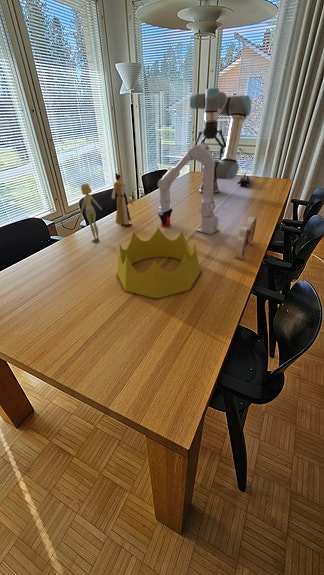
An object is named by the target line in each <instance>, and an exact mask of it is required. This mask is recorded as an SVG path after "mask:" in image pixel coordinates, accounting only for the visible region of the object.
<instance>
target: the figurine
mask: <svg viewBox="0 0 324 575" xmlns="http://www.w3.org/2000/svg"><path fill="white" fill-rule="evenodd" d="M114 175H115V180H116V181H115V182H113V188H112V193H111V196H110V197H111V200H116V217H115V223H116V224H117V225H118V226H124V228H125V227H127V228H128V227H130V226H132V219H131V214H130V211H129V207H128V203H130V204H131V205H132V206H134V202H133V200H132V199H131V197H130V195H129V192H128V191H127V189H126V185H125V184H124V183H123V182H122V177H121V174H118V173H115V174H114ZM116 195H117V197H116ZM125 196H126V197H125ZM130 222H131V223H130Z"/></svg>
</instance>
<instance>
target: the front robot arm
mask: <svg viewBox="0 0 324 575" xmlns="http://www.w3.org/2000/svg"><path fill="white" fill-rule="evenodd" d="M214 159H215V158H214V156H213V154H212V152H211V148H210V147H209V146H208V145H207V144H206V143H204V142H203V143H200V142H198V143H197V145H195V146H194V145H193V146H192V147H191V148H190V149H188V150H187V152H185V154H184V155H183V156H182V157H181V159H180V160H179V161H178V163H177V164H176V165H175V166H171V167H169V168H168V169H167V172H166V173H165V174H162V178H160V179H158V181H157V188H158V190H159V207H158V210H159V211H158V213H157V216H158V217H159V219H160V222H161V226H162V225H166V220H167V216H169V217H170V218H171V215H172V213H173V211H174V210H173V208H172V206H173V205H172V203H171V190H170V189H171V187H172V184H173V183H174V182H175V181H176V179H177V178H178V177H179V176H180V171H182V169H184V168H185V166H186V165H187V164H188V163H189V162H190V161H193V160H195V161H197V162H199V163H200V164H201V165H202V166H203V165H204V183H203V193H202V201H201V205H200V208H199V215H200V223H199V224H200V225H199V228H197V230H196V231H197V232H200V233H204V234H208V235H213V234H215V233H216V232H217V231H218V230H219V217H218V216H216V215H215V213H214V210H215V209H216V203H215V198H214V194H213V181H214Z"/></svg>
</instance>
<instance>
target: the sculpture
mask: <svg viewBox="0 0 324 575" xmlns="http://www.w3.org/2000/svg"><path fill="white" fill-rule="evenodd" d="M80 191H81V193H82V195H83V196H84V197H83V202H82V205H81V210H80V213H79V217H82V216H83V211H84V209H85V216H86V218H87V221H88V223H89V226H90V231H91V234H92V237H93V239H92V240H91V241H92V242H93V243H98V242H100V238H99V228H98V226H97V223H96V217H97V214H96V210H95V208H94V206H93V205H92V202H93V204H95V205H96V206H97V207H98V209H100V210H101V211H102V210H103V208H102V207H101V206H100V205H99V204H98V202H97V200H96V199H94V198H93V196H92V195H91V193H92V189H91V186H90V184H88V183H82V184H81V185H80Z"/></svg>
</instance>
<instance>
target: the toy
mask: <svg viewBox="0 0 324 575" xmlns="http://www.w3.org/2000/svg"><path fill="white" fill-rule="evenodd" d="M250 184H251V182H250V177H249V175H246V173H244V174H243V177H240V180H239V181H237V185H239V187H243V188H244V187H247V186H248V185H250Z"/></svg>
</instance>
